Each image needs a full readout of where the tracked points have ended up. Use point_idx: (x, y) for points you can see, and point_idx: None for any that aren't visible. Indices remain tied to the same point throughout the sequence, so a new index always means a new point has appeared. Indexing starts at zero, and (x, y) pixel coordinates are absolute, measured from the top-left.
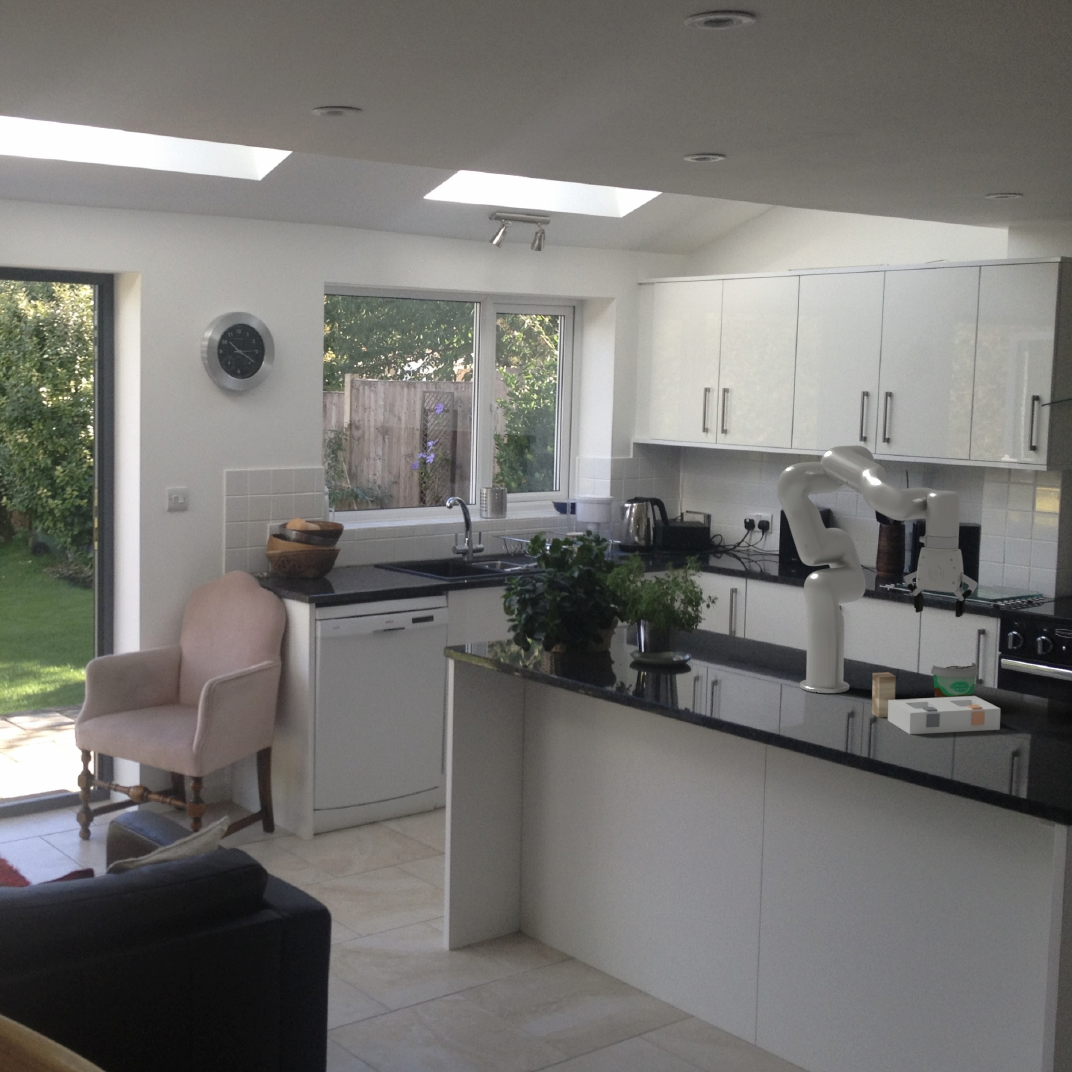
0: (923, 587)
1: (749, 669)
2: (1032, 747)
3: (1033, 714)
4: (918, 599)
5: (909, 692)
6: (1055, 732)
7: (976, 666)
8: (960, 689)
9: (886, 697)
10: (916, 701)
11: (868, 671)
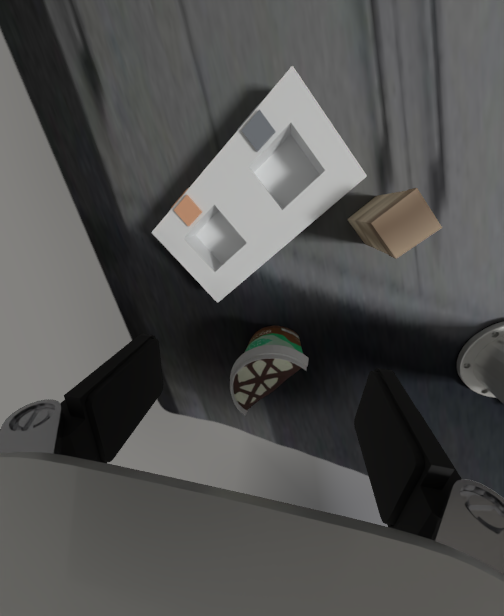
0: (432, 571)
1: None
2: (91, 142)
3: (165, 337)
4: (411, 439)
5: (349, 383)
6: (106, 257)
7: (232, 395)
8: (254, 342)
9: (375, 206)
10: (303, 199)
11: None
